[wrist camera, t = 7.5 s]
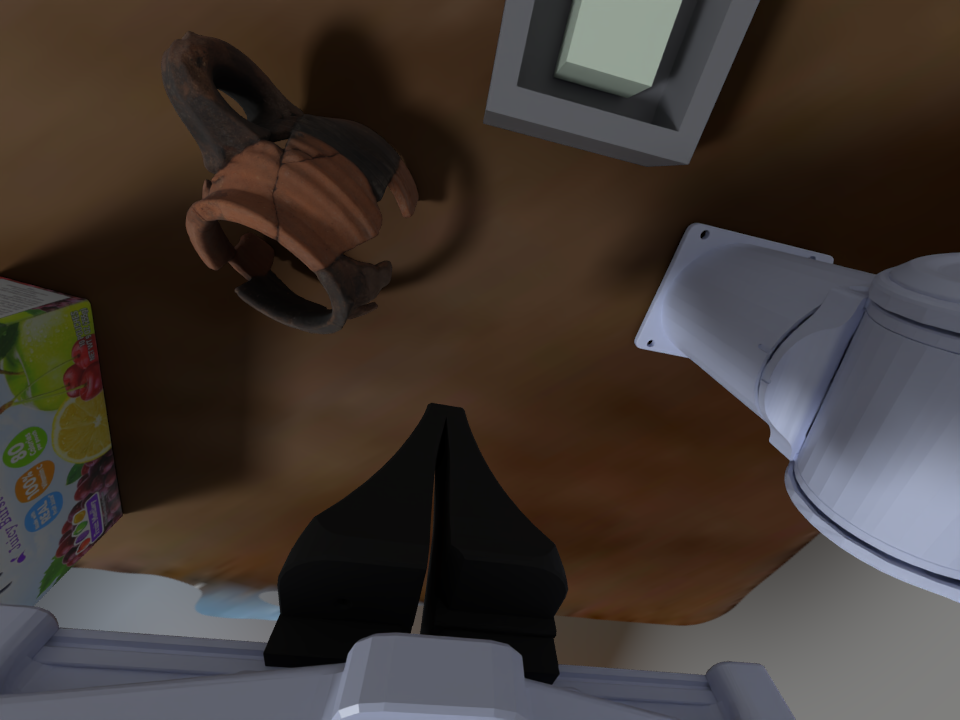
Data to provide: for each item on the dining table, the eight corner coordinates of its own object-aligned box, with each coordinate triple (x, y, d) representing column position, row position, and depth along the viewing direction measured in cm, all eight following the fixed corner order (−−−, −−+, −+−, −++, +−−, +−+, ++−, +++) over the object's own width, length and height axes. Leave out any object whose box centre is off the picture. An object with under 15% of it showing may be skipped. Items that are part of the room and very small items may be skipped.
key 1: (662, -8, 14) (696, -40, 12) (627, 98, 16) (651, 86, 14) (581, -35, 14) (600, -73, 12) (553, 76, 15) (566, 61, 13)
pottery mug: (460, 236, 20) (403, 338, 16) (354, 268, 25) (285, 353, 21) (309, -45, 13) (109, -8, 8) (198, 78, 18) (32, 144, 13)
